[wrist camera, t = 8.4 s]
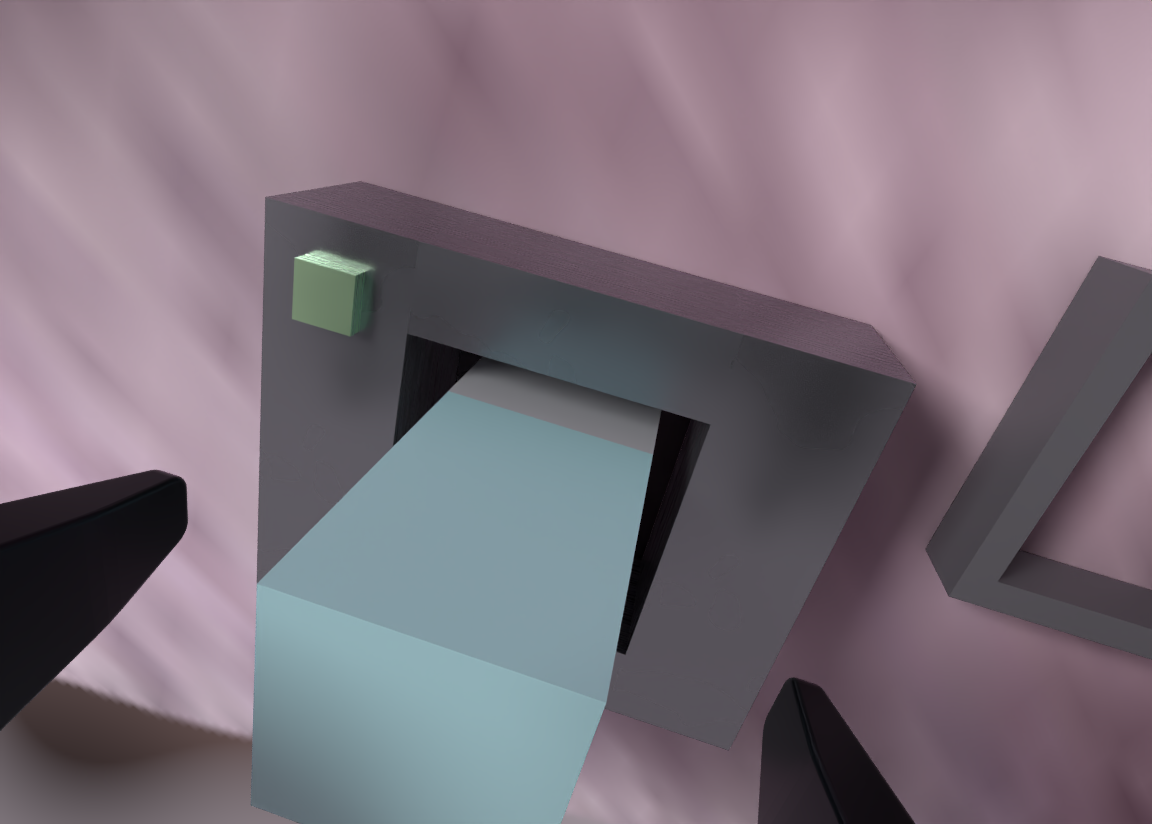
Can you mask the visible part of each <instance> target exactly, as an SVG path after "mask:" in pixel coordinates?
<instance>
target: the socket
mask: <svg viewBox="0 0 1152 824" xmlns="http://www.w3.org/2000/svg"><path fill="white" fill-rule="evenodd" d="M460 350H464V351H467V352H470V353H474V354H477V355H480V356H484V357H487V358H490V359H494V360H497V361H500V362H504V363H507V364H510V365H514V366H517V367H520V368H524V369H527V370H530V371H534V372H537V373H540V374H544V375H547V376H550V377H554V378H557V379H560V380H564V381H567V382H570V383H574V384H577V385H581V386H584V387H587V388H591V389H594V390H597V391H601V392H604V393H607V394H611V395H614V396H617V397H621V398H624V399H627V400H631V401H634V402H637V403H641V404H644V405H647V406H651V407H654V408H657V409H661V410H664V411H667V412H671V413H674V414H677V415H681V416H684V417H687V418H691V421H690V424H689V426H688V429H687V432H686V435H685V438H684V441H683V443H682V446H681V449H680V452H679V455H678V458H677V460H676V463H675V466H674V469H673V472H672V475H671V477H670V480H669V483H668V486H667V489H666V492H665V494H664V497H663V500H662V503H661V506H660V509H659V511H658V514H657V517H656V520H655V523H654V526H653V528H652V531H651V534H650V537H649V540H648V543H647V545H646V548H645V551H644V554H643V557H642V559H640V558H637V557H634V558H633V564H632V569H631V574H630V579H629V585H628V590H627V595H626V601H625V606H624V611H623V617H622V622H621V627H620V633H619V638H618V643H617V649H616V654H615V659H614V665H613V670H612V675H611V681H610V686H609V691H608V696H607V702H606V705H605V708H604V709H607V710H610V711H613V712H616V713H619V714H622V715H625V716H628V717H631V718H634V719H637V720H640V721H643V722H646V723H649V724H652V725H655V726H658V727H661V728H664V729H667V730H670V731H673V732H676V733H679V734H682V735H684V736H687V737H690V738H693V739H696V740H699V741H702V742H705V743H708V744H711V745H714V746H717V747H720V748H723V749H726V750H729V749H730V747H731V745H732V743H733V741H734V739H735V737H736V736H737V734H738V732H739V730H740V728H741V726H742V724H743V722H744V720H745V718H746V716H747V714H748V712H749V710H750V708H751V706H752V704H753V702H754V700H755V698H756V697H757V695H758V693H759V691H760V689H761V687H762V685H763V683H764V681H765V679H766V677H767V675H768V673H769V671H770V669H771V667H772V665H773V663H774V661H775V659H776V657H777V656H778V654H779V652H780V650H781V648H782V646H783V644H784V642H785V640H786V638H787V636H788V634H789V632H790V630H791V628H792V626H793V624H794V622H795V620H796V618H797V617H798V615H799V613H800V611H801V609H802V607H803V605H804V603H805V601H806V599H807V597H808V595H809V593H810V591H811V589H812V587H813V585H814V583H815V581H816V579H817V577H818V576H819V574H820V572H821V570H822V568H823V566H824V564H825V562H826V560H827V558H828V556H829V554H830V552H831V550H832V548H833V546H834V544H835V542H836V540H837V538H838V537H839V535H840V533H841V531H842V529H843V527H844V525H845V523H846V521H847V519H848V517H849V515H850V513H851V511H852V509H853V507H854V505H855V503H856V501H857V499H858V497H859V496H860V494H861V492H862V490H863V488H864V486H865V484H866V482H867V480H868V478H869V476H870V474H871V472H872V470H873V468H874V466H875V464H876V462H877V460H878V458H879V457H880V455H881V453H882V451H883V449H884V447H885V445H886V443H887V441H888V439H889V437H890V435H891V433H892V431H893V429H894V427H895V425H896V423H897V421H898V419H899V417H900V416H901V414H902V412H903V410H904V408H905V406H906V404H907V402H908V400H909V398H910V396H911V394H912V392H913V390H914V388H915V386H916V383H915V382H914V380H913V379H912V378H911V376H910V375H909V374H908V372H907V371H906V370H905V369H904V367H903V366H902V365H901V363H900V362H899V361H898V360H897V358H896V357H895V356H894V354H893V353H892V352H891V350H890V349H889V348H888V347H887V345H886V344H885V343H884V341H883V340H882V339H881V337H880V336H879V335H878V334H877V332H876V331H875V330H874V328H873V327H872V326H871V325H869V324H865V323H862V322H858V321H855V320H851V319H847V318H844V317H840V316H837V315H833V314H830V313H826V312H823V311H819V310H816V309H812V308H808V307H805V306H801V305H798V304H794V303H791V302H787V301H784V300H780V299H777V298H773V297H769V296H766V295H762V294H759V293H755V292H752V291H748V290H745V289H741V288H738V287H734V286H730V285H727V284H723V283H720V282H716V281H713V280H709V279H706V278H702V277H699V276H695V275H691V274H688V273H684V272H681V271H677V270H674V269H670V268H667V267H663V266H660V265H656V264H652V263H649V262H645V261H642V260H638V259H635V258H631V257H628V256H624V255H621V254H617V253H614V252H610V251H606V250H603V249H599V248H596V247H592V246H589V245H585V244H582V243H578V242H575V241H571V240H567V239H564V238H560V237H557V236H553V235H550V234H546V233H543V232H539V231H536V230H532V229H528V228H525V227H521V226H518V225H514V224H511V223H507V222H504V221H500V220H497V219H493V218H489V217H486V216H482V215H479V214H475V213H472V212H468V211H465V210H461V209H458V208H454V207H450V206H447V205H443V204H440V203H436V202H433V201H429V200H426V199H422V198H419V197H415V196H411V195H408V194H404V193H401V192H397V191H394V190H390V189H387V188H383V187H380V186H376V185H372V184H369V183H365V182H362V181H360V182H354V183H348V184H342V185H336V186H330V187H323V188H317V189H311V190H305V191H299V192H293V193H287V194H281V195H275V196H269V197H266V198H265V242H264V287H263V331H262V375H261V420H260V464H259V509H258V553H257V583H258V582H259V581H260V580H261V579H262V578H263V577H264V576H265V575H266V574H267V573H268V572H269V571H270V570H271V569H272V568H273V567H274V566H275V565H276V564H277V563H278V562H279V561H280V560H281V559H282V558H283V557H284V556H285V555H286V554H287V553H288V552H289V551H290V550H291V549H292V548H293V547H294V546H295V545H296V544H297V543H298V542H299V541H300V540H301V539H302V538H303V537H304V536H305V535H306V534H307V533H308V532H309V531H310V530H311V529H312V528H313V527H314V526H315V525H316V524H317V523H318V522H319V521H320V520H321V519H322V518H323V517H324V516H325V515H326V514H327V513H328V512H329V511H330V510H331V509H332V508H333V507H334V506H335V505H336V504H337V503H338V502H339V501H340V500H341V499H342V498H343V497H344V496H345V495H346V494H347V493H348V492H349V491H350V490H351V489H352V488H353V487H354V486H355V485H356V484H357V483H358V482H359V481H360V480H361V479H362V478H363V476H364V475H365V474H366V473H367V472H368V471H369V470H370V469H371V468H372V467H373V466H374V465H375V464H376V463H377V462H378V461H379V460H380V459H381V458H382V457H383V456H384V455H385V454H386V453H387V452H388V451H389V450H390V449H391V448H392V447H393V446H394V445H395V444H396V443H397V442H398V441H399V440H400V439H401V438H402V437H403V436H404V435H405V434H406V433H407V432H408V431H409V430H410V429H411V428H412V427H413V426H414V425H415V424H416V423H417V422H418V421H419V420H420V419H421V418H422V417H423V416H424V415H425V414H426V413H427V412H428V411H429V410H430V409H431V408H432V407H433V406H434V405H435V404H436V403H437V402H438V401H439V400H440V399H441V398H442V397H443V396H444V395H445V394H446V393H447V392H448V391H449V390H450V389H451V388H452V387H453V386H454V385H455V379H456V373H457V367H458V361H459V355H460Z"/></svg>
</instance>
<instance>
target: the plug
mask: <svg viewBox="0 0 1152 824" xmlns="http://www.w3.org/2000/svg"><path fill="white" fill-rule="evenodd" d="M660 415H661V409H657V408H654V407H651V406H647V405H644V404H641V403H637V402H634V401H631V400H627V399H624V398H621V397H617V396H614V395H611V394H607V393H604V392H601V391H597V390H594V389H591V388H587V387H584V386H581V385H577V384H574V383H570V382H567V381H564V380H560V379H557V378H554V377H550V376H547V375H544V374H540V373H537V372H534V371H530V370H527V369H524V368H520V367H517V366H514V365H510V364H507V363H504V362H500V361H497V360H494V359H490V358H487V357H484V356H483V357H482V358H481V359H480V360H479V361H478V362H477V363H476V364H475V365H474V366H473V367H472V368H471V369H470V370H469V371H468V372H467V373H466V374H465V375H464V376H463V377H462V378H461V379H460V380H459V381H458V382H457V383H456V384H455V385H454V386H453V387H452V388H451V389H450V390H449V391H448V392H447V393H446V394H445V395H444V396H443V397H442V398H441V399H440V400H439V401H438V402H437V403H436V404H435V405H434V406H433V407H432V408H431V409H430V410H429V411H428V412H427V413H426V414H425V415H424V416H423V417H422V418H421V419H420V420H419V421H418V422H417V423H416V424H415V425H414V426H413V427H412V428H411V429H410V430H409V431H408V432H407V433H406V434H405V435H404V436H403V437H402V438H401V439H400V440H399V441H398V442H397V443H396V444H395V445H394V446H393V447H392V448H391V449H390V450H389V451H388V452H387V453H386V454H385V455H384V456H383V457H382V458H381V459H380V460H379V461H378V462H377V463H376V464H375V465H374V466H373V467H372V468H371V469H370V470H369V471H368V472H367V473H366V474H365V475H364V476H363V478H362V479H361V480H360V481H359V482H358V483H357V484H356V485H355V486H354V487H353V488H352V489H351V490H350V491H349V492H348V493H347V494H346V495H345V496H344V497H343V498H342V499H341V500H340V501H339V502H338V503H337V504H336V505H335V506H334V507H333V508H332V509H331V510H330V511H329V512H328V513H327V514H326V515H325V516H324V517H323V518H322V519H321V520H320V521H319V522H318V523H317V524H316V525H315V526H314V527H313V528H312V529H311V530H310V531H309V532H308V533H307V534H306V535H305V536H304V537H303V538H302V539H301V540H300V541H299V542H298V543H297V544H296V545H295V546H294V547H293V548H292V549H291V550H290V551H289V552H288V553H287V554H286V555H285V556H284V557H283V558H282V559H281V560H280V561H279V562H278V563H277V564H276V565H275V566H274V567H273V568H272V569H271V570H270V571H269V572H268V573H267V574H266V575H265V576H264V577H263V578H262V579H261V580H260V581H259V582H258V583H257V601H256V636H255V672H254V708H253V743H252V747H253V748H252V779H251V806H254V807H257V808H259V809H262V810H265V811H268V812H271V813H273V814H276V815H278V816H281V817H284V818H287V819H289V820H292V821H295V822H297V823H300V824H561V822H562V819H563V817H564V814H565V811H566V809H567V806H568V803H569V801H570V798H571V795H572V793H573V790H574V787H575V785H576V782H577V779H578V777H579V774H580V771H581V769H582V766H583V763H584V761H585V758H586V755H587V753H588V750H589V747H590V745H591V742H592V739H593V737H594V734H595V731H596V729H597V726H598V724H599V721H600V718H601V716H602V713H603V710H604V708H605V705H606V702H607V696H608V691H609V686H610V681H611V675H612V670H613V665H614V659H615V654H616V649H617V643H618V638H619V633H620V627H621V622H622V617H623V611H624V606H625V601H626V595H627V590H628V585H629V579H630V574H631V569H632V564H633V558H634V553H635V548H636V542H637V537H638V532H639V526H640V521H641V516H642V510H643V505H644V500H645V494H646V489H647V484H648V478H649V473H650V468H651V463H652V457H653V452H654V447H655V441H656V436H657V431H658V425H659V420H660Z"/></svg>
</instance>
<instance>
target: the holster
mask: <svg viewBox="0 0 1152 824" xmlns="http://www.w3.org/2000/svg"><path fill="white" fill-rule="evenodd" d="M1151 353H1152V270H1150V269H1146V268H1142V267H1138V266H1135V265H1131V264H1127V263H1123V262H1120V261H1116V260H1112V259H1108V258H1105V257H1101V256H1099V257H1098V258H1097V260H1096V262H1095V263H1094V265H1093V267H1092V268H1091V270H1090V272H1089V273H1088V275H1087V277H1086V279H1085V280H1084V282H1083V284H1082V285H1081V287H1080V289H1079V290H1078V292H1077V294H1076V295H1075V297H1074V299H1073V300H1072V302H1071V304H1070V306H1069V307H1068V309H1067V311H1066V312H1065V314H1064V316H1063V317H1062V319H1061V321H1060V322H1059V324H1058V326H1057V327H1056V329H1055V331H1054V333H1053V334H1052V336H1051V338H1050V339H1049V341H1048V343H1047V344H1046V346H1045V348H1044V349H1043V351H1042V353H1041V355H1040V356H1039V358H1038V360H1037V361H1036V363H1035V365H1034V366H1033V368H1032V370H1031V371H1030V373H1029V375H1028V376H1027V378H1026V380H1025V382H1024V383H1023V385H1022V387H1021V388H1020V390H1019V392H1018V393H1017V395H1016V397H1015V398H1014V400H1013V402H1012V404H1011V405H1010V407H1009V409H1008V410H1007V412H1006V414H1005V415H1004V417H1003V419H1002V420H1001V422H1000V424H999V425H998V427H997V429H996V431H995V432H994V434H993V436H992V437H991V439H990V441H989V442H988V444H987V446H986V447H985V449H984V451H983V452H982V454H981V456H980V458H979V459H978V461H977V463H976V464H975V466H974V468H973V469H972V471H971V473H970V474H969V476H968V478H967V480H966V481H965V483H964V485H963V486H962V488H961V490H960V491H959V493H958V495H957V496H956V498H955V500H954V501H953V503H952V505H951V507H950V508H949V510H948V512H947V513H946V515H945V517H944V518H943V520H942V522H941V523H940V525H939V527H938V529H937V530H936V532H935V534H934V535H933V537H932V539H931V540H930V542H929V544H928V545H927V547H926V551H927V553H928V555H929V557H930V559H931V561H932V563H933V565H934V568H935V570H936V572H937V574H938V576H939V578H940V580H941V582H942V584H943V586H944V588H945V590H946V592H947V594H948V596H949V597H953V598H956V599H959V600H962V601H965V602H969V603H972V604H975V605H978V606H981V607H985V608H988V609H991V610H994V611H998V612H1001V613H1004V614H1007V615H1010V616H1014V617H1017V618H1020V619H1023V620H1026V621H1030V622H1033V623H1036V624H1039V625H1043V626H1046V627H1049V628H1052V629H1055V630H1059V631H1062V632H1065V633H1068V634H1072V635H1075V636H1078V637H1081V638H1084V639H1088V640H1091V641H1094V642H1097V643H1100V644H1104V645H1107V646H1110V647H1113V648H1117V649H1120V650H1123V651H1126V652H1129V653H1133V654H1136V655H1139V656H1142V657H1145V658H1149V659H1152V590H1149V589H1146V588H1142V587H1139V586H1136V585H1132V584H1129V583H1126V582H1123V581H1119V580H1116V579H1113V578H1109V577H1106V576H1103V575H1099V574H1096V573H1093V572H1090V571H1086V570H1083V569H1080V568H1076V567H1073V566H1070V565H1067V564H1063V563H1060V562H1057V561H1053V560H1050V559H1047V558H1043V557H1040V556H1037V555H1034V554H1030V553H1027V552H1024V551H1020V550H1019V549H1020V548H1021V546H1022V545H1023V543H1024V542H1025V540H1026V539H1027V537H1028V536H1029V534H1030V533H1031V531H1032V530H1033V528H1034V527H1035V525H1036V524H1037V522H1038V521H1039V520H1040V518H1041V517H1042V515H1043V514H1044V512H1045V511H1046V509H1047V508H1048V506H1049V505H1050V503H1051V502H1052V500H1053V499H1054V497H1055V496H1056V494H1057V493H1058V491H1059V490H1060V488H1061V487H1062V485H1063V484H1064V482H1065V481H1066V479H1067V478H1068V476H1069V475H1070V473H1071V472H1072V470H1073V469H1074V467H1075V466H1076V464H1077V463H1078V462H1079V460H1080V459H1081V457H1082V456H1083V454H1084V453H1085V451H1086V450H1087V448H1088V447H1089V445H1090V444H1091V442H1092V441H1093V439H1094V438H1095V436H1096V435H1097V433H1098V432H1099V430H1100V429H1101V427H1102V426H1103V424H1104V423H1105V421H1106V420H1107V418H1108V417H1109V415H1110V414H1111V412H1112V411H1113V409H1114V408H1115V406H1116V405H1117V404H1118V402H1119V401H1120V399H1121V398H1122V396H1123V395H1124V393H1125V392H1126V390H1127V389H1128V387H1129V386H1130V384H1131V383H1132V381H1133V380H1134V378H1135V377H1136V375H1137V374H1138V372H1139V371H1140V369H1141V368H1142V366H1143V365H1144V363H1145V362H1146V360H1147V359H1148V357H1149V356H1150V354H1151Z"/></svg>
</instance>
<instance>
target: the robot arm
mask: <svg viewBox="0 0 1152 824" xmlns="http://www.w3.org/2000/svg"><path fill="white" fill-rule="evenodd" d="M187 524H188V511H187V486H186V483H185V481H184V479H182V478H181V477H179V476H177V475H173V474H170V473H167V472H164V471H161V470H150V471H145V472H141V473H136V474H132V475H127V476H123V477H118V478H114V479H109V480H105V481H101V482H96V483H92V484H87V485H83V486H78V487H74V488H69V489H65V490H60V491H56V492H51V493H47V494H42V495H38V496H33V497H29V498H24V499H20V500H15V501H11V502H6V503H2V504H0V731H1V730H2V729H3V728H4V727H5V726H6V725H7V724H8V723H9V722H10V721H11V720H12V719H13V718H14V717H15V716H16V715H17V714H18V713H19V712H20V711H21V710H22V709H23V708H24V707H25V706H26V705H27V704H28V703H29V702H30V701H31V700H32V699H33V698H34V697H35V696H36V695H38V694H39V693H40V692H41V691H42V690H43V688H45V687H46V685H48V684H49V683H50V682H51V681H52V680H53V679H54V678H55V677H56V676H57V675H58V674H59V673H60V672H61V671H62V670H63V669H64V668H65V667H66V666H67V665H68V664H69V663H70V662H71V661H72V660H73V659H74V658H75V657H76V656H77V655H78V654H79V653H80V652H81V651H82V650H83V649H84V648H85V647H86V646H87V645H88V644H89V643H90V642H91V641H92V640H94V639H95V638H96V637H97V636H98V634H99V633H100V632H101V631H102V630H103V629H104V628H105V627H106V626H107V625H108V624H109V623H110V622H111V621H112V620H113V619H114V618H115V616H116V615H117V614H118V613H119V612H120V611H121V610H122V609H123V607H124V606H125V605H126V604H127V603H128V602H129V600H130V599H131V598H132V597H133V596H134V594H135V593H136V592H137V591H138V590H139V588H140V587H141V586H142V585H143V584H144V583H145V581H146V580H147V579H148V578H149V577H150V575H151V574H152V573H153V572H154V571H155V569H156V568H157V567H158V566H159V565H160V564H161V562H162V561H163V560H164V559H165V558H166V556H167V555H168V554H169V553H170V552H171V550H172V549H173V548H174V547H175V546H176V545H177V543H178V542H179V541H180V540H181V538H182V537H183V535H184V533H185V531H186V528H187ZM758 824H915V823H914V821H913V820H912V818H911V817H910V815H909V814H908V812H907V811H906V809H905V808H904V807H903V805H902V804H901V802H900V801H899V799H898V798H897V796H896V795H895V793H894V792H893V791H892V789H891V788H890V786H889V785H888V783H887V782H886V780H885V779H884V777H883V776H882V775H881V773H880V772H879V770H878V769H877V767H876V766H875V764H874V763H873V761H872V760H871V759H870V757H869V756H868V754H867V753H866V751H865V750H864V748H863V747H862V745H861V744H860V743H859V741H858V740H857V738H856V737H855V735H854V734H853V732H852V731H851V729H850V728H849V727H848V725H847V724H846V722H845V721H844V719H843V718H842V716H841V715H840V713H839V712H838V711H837V709H836V708H835V706H834V705H833V703H832V702H831V700H830V699H829V697H828V696H827V695H826V693H825V692H824V690H823V689H822V688H821V687H820V686H818V685H816V684H813V683H810V682H807V681H804V680H801V679H798V678H794V677H793V678H789V679H788V680H787V681H786V682H785V684H784V685H783V687H782V689H781V691H780V693H779V695H778V697H777V698H776V700H775V702H774V704H773V706H772V708H771V710H770V711H769V713H768V715H767V718H766V721H765V724H764V729H763V741H762V758H761V776H760V794H759V812H758Z"/></svg>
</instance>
